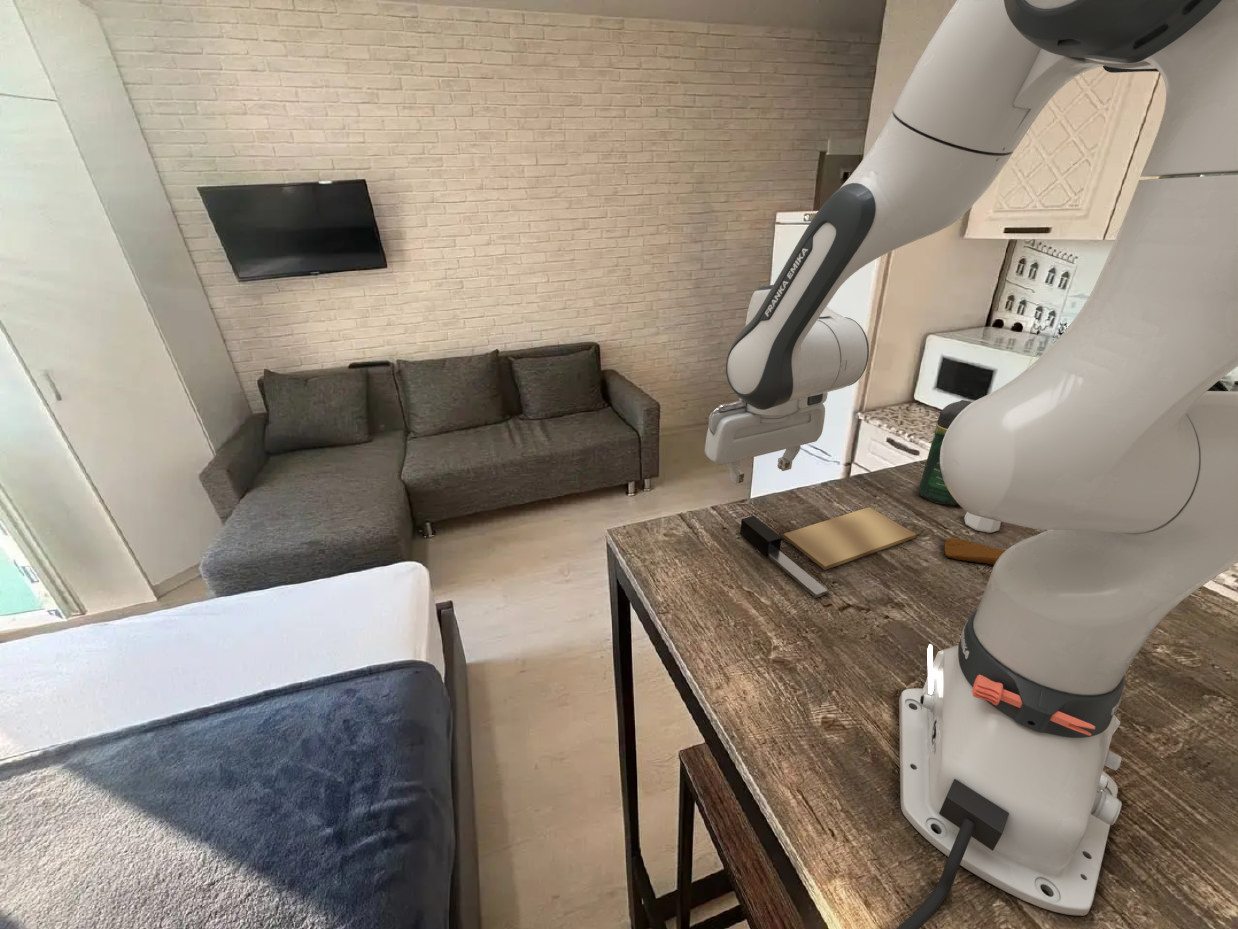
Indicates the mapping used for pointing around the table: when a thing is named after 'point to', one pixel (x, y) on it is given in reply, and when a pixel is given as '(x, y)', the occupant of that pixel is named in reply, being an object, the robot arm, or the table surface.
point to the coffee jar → (932, 476)
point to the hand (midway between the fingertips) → (760, 475)
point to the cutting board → (848, 537)
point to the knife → (778, 553)
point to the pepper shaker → (981, 523)
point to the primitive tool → (971, 551)
